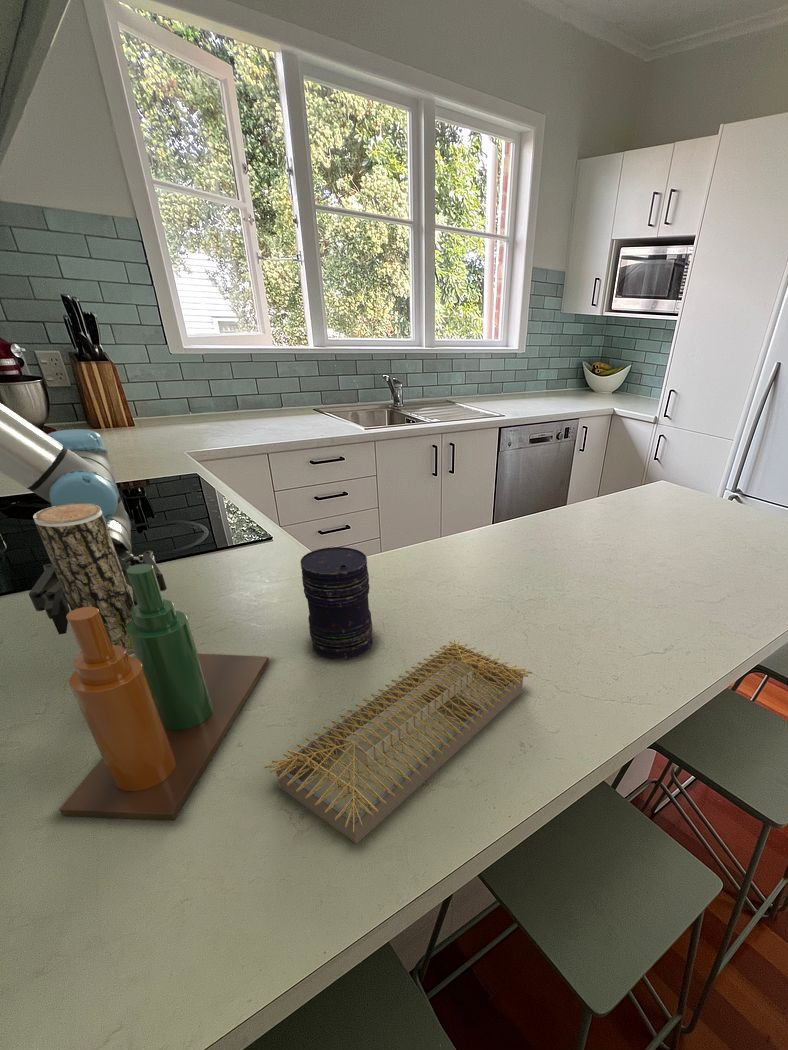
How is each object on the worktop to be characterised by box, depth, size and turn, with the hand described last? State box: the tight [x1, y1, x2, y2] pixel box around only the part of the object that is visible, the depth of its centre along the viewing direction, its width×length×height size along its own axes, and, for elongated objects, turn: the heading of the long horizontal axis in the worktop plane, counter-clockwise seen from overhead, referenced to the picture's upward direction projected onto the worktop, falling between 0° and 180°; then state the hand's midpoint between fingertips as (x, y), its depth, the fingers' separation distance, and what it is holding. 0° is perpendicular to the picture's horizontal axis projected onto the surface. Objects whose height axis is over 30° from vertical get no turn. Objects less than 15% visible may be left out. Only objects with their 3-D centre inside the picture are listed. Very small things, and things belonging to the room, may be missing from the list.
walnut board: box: [59, 652, 270, 821], centre depth 71 cm, size 12×30×1 cm, turn 179°
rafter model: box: [263, 638, 533, 844], centre depth 70 cm, size 35×14×6 cm, turn 145°
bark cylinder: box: [32, 503, 136, 658], centre depth 72 cm, size 7×7×25 cm
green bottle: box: [126, 564, 213, 730], centre depth 66 cm, size 6×6×21 cm
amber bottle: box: [66, 607, 176, 791], centre depth 57 cm, size 6×6×21 cm
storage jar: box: [300, 546, 374, 661], centre depth 85 cm, size 10×10×15 cm
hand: (100, 617), depth 68 cm, fingers open, 8 cm apart
